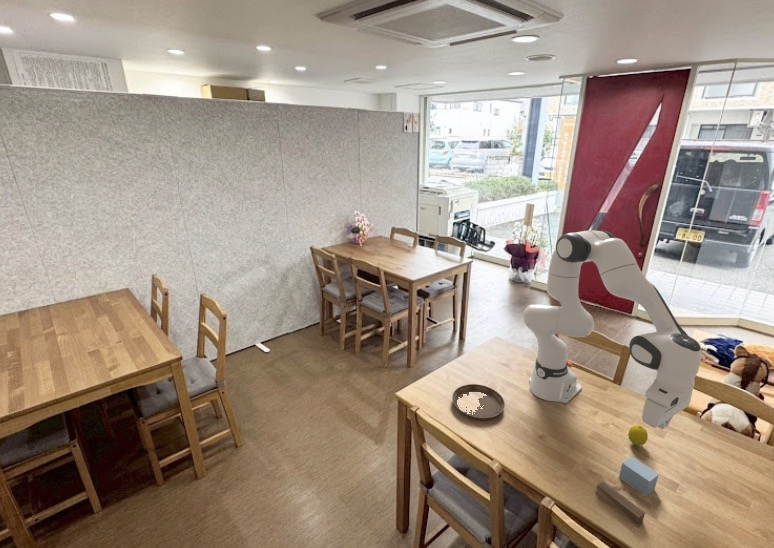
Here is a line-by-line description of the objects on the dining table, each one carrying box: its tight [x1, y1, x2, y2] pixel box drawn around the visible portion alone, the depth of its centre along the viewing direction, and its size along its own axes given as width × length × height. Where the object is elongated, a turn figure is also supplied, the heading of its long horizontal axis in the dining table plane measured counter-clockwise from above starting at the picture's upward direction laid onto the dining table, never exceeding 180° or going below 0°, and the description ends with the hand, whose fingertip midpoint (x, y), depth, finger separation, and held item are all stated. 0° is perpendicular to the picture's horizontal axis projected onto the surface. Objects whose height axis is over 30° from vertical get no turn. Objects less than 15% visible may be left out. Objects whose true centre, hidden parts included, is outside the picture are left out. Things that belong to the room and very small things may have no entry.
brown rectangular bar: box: [595, 480, 646, 528], centre depth 109 cm, size 3×12×4 cm, turn 29°
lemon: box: [627, 424, 649, 446], centre depth 131 cm, size 6×6×8 cm
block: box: [618, 456, 660, 497], centre depth 117 cm, size 5×8×6 cm, turn 30°
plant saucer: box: [452, 383, 506, 421], centre depth 153 cm, size 21×21×3 cm
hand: (662, 426), depth 115 cm, fingers closed
